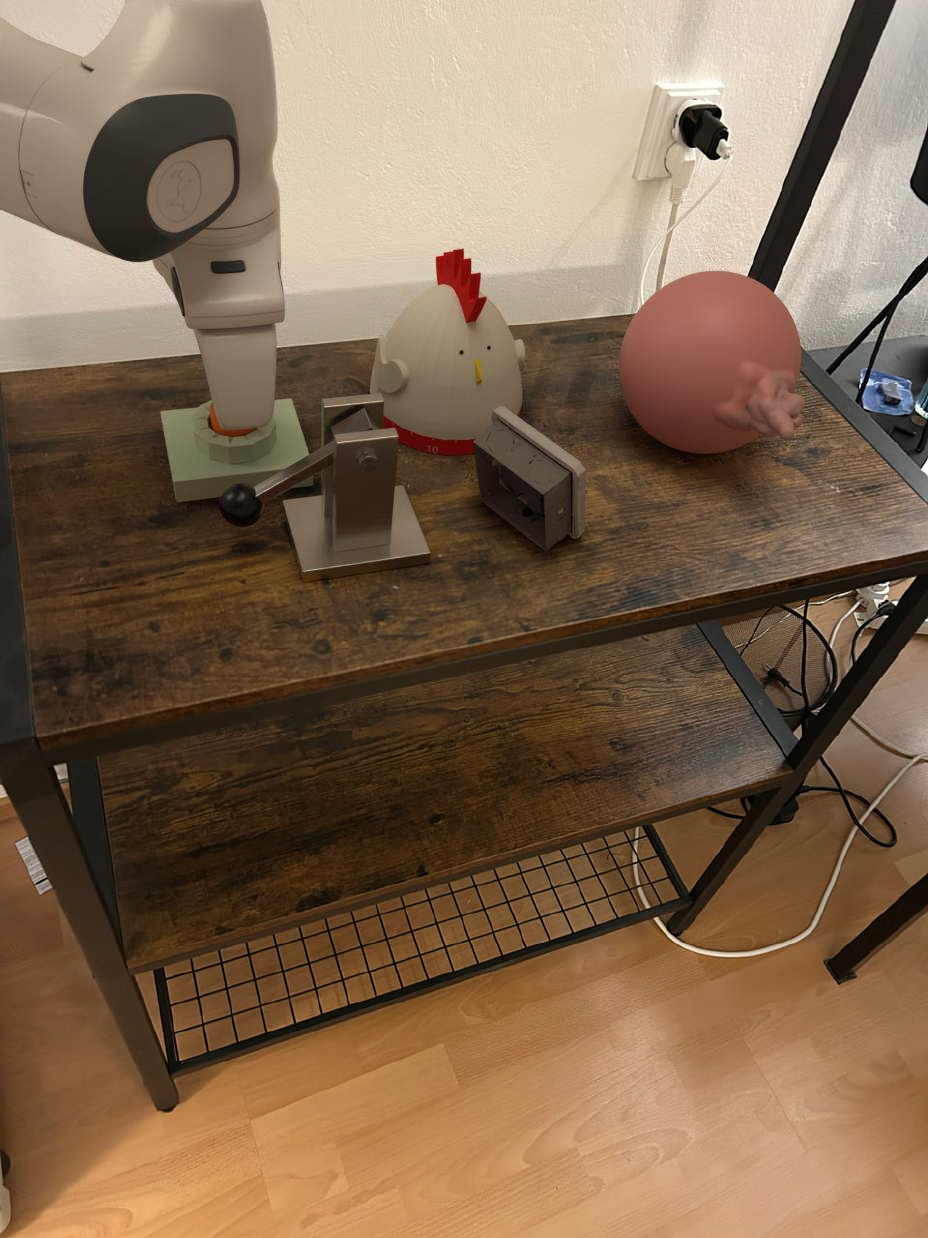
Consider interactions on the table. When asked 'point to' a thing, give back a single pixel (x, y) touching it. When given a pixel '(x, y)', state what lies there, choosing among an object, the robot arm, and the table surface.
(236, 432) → the button
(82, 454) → the table surface
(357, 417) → the switch lever
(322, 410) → the switch bracket
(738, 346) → the balloon
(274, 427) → the control block
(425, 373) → the kitchen timer
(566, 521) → the electrical switch
